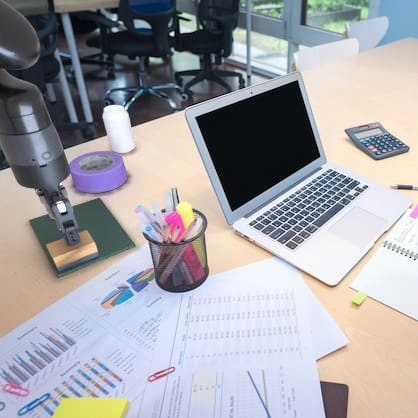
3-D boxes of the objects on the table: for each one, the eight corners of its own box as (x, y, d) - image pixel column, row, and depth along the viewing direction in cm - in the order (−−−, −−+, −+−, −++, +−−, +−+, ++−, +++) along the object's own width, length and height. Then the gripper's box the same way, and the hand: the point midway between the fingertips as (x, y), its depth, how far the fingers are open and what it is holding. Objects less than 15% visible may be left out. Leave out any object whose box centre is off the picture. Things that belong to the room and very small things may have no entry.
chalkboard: (58, 278, 70) (57, 275, 70) (29, 222, 82) (28, 219, 81) (135, 246, 78) (135, 244, 78) (100, 199, 90) (99, 197, 89)
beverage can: (124, 142, 111) (114, 102, 104) (140, 148, 110) (132, 107, 102) (106, 151, 107) (95, 109, 100) (123, 157, 105) (113, 115, 98)
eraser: (58, 272, 71) (52, 258, 68) (51, 258, 73) (45, 244, 71) (99, 255, 75) (94, 242, 72) (91, 243, 77) (86, 229, 75)
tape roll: (75, 171, 98) (69, 153, 95) (125, 164, 102) (121, 147, 99) (73, 197, 89) (67, 178, 86) (129, 188, 94) (124, 170, 91)
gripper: (-4, 139, 62) (32, 218, 72) (17, 179, 54) (54, 262, 64) (49, 128, 67) (76, 204, 76) (76, 163, 59) (102, 243, 68)
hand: (66, 231), depth 70 cm, fingers open, 8 cm apart
